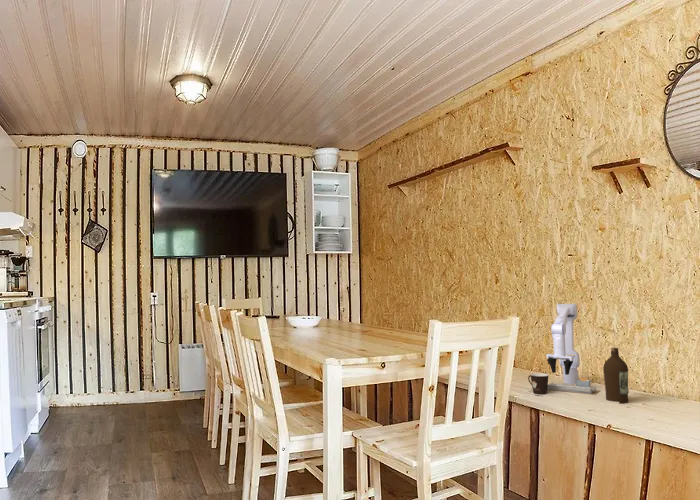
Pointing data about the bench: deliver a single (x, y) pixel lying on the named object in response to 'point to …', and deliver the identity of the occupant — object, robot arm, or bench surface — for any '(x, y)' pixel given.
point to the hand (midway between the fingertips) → (560, 373)
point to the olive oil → (616, 378)
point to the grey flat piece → (571, 388)
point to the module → (583, 382)
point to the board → (581, 393)
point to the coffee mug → (539, 383)
